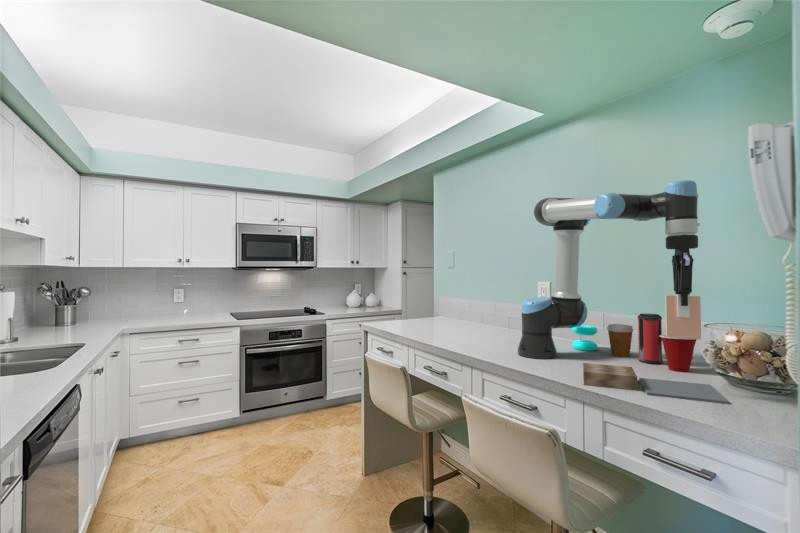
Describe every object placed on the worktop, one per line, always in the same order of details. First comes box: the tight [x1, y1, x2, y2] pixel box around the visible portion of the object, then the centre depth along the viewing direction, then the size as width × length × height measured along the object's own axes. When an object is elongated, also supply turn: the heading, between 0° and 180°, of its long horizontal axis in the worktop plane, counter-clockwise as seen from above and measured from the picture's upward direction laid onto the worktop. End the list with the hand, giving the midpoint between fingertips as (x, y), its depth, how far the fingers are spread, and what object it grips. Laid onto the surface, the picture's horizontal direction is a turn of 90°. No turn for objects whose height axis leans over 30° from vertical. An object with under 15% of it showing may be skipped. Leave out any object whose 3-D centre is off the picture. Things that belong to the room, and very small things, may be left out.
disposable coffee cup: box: [606, 323, 635, 358], centre depth 155 cm, size 10×10×12 cm
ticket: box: [665, 294, 702, 340], centre depth 109 cm, size 8×1×12 cm, turn 64°
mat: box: [638, 377, 730, 405], centre depth 109 cm, size 18×16×1 cm
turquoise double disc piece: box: [571, 324, 598, 352], centre depth 167 cm, size 10×10×10 cm
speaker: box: [637, 313, 663, 365], centre depth 143 cm, size 8×8×18 cm
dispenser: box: [582, 362, 638, 391], centre depth 118 cm, size 14×12×4 cm
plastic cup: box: [659, 334, 698, 373], centre depth 132 cm, size 11×11×12 cm
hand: (682, 316), depth 109 cm, fingers closed on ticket
